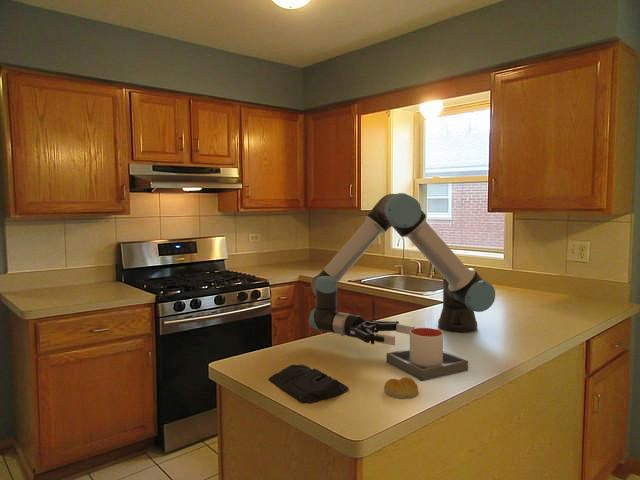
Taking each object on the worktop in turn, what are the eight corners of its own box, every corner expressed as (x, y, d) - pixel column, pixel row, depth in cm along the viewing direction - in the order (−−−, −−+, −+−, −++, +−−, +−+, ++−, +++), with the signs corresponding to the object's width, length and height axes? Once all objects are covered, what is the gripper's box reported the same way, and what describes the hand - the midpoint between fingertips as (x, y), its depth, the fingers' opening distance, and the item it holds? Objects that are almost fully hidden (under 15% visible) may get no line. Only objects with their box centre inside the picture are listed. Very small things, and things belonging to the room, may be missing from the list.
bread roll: (380, 388, 131) (381, 374, 130) (412, 386, 132) (412, 372, 131) (388, 401, 122) (388, 385, 122) (422, 399, 123) (422, 384, 123)
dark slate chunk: (308, 370, 146) (308, 354, 145) (353, 394, 127) (353, 376, 127) (264, 381, 137) (263, 365, 136) (305, 408, 119) (305, 390, 118)
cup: (449, 366, 144) (450, 334, 143) (421, 371, 140) (421, 338, 139) (430, 356, 153) (430, 326, 152) (403, 360, 149) (403, 329, 148)
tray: (429, 353, 158) (429, 345, 158) (467, 370, 143) (468, 361, 142) (386, 362, 150) (386, 353, 150) (421, 381, 135) (422, 370, 135)
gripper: (368, 327, 173) (422, 338, 160) (327, 344, 153) (385, 358, 141) (368, 307, 173) (422, 316, 160) (327, 321, 153) (385, 333, 140)
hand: (405, 335), depth 150 cm, fingers open, 13 cm apart
